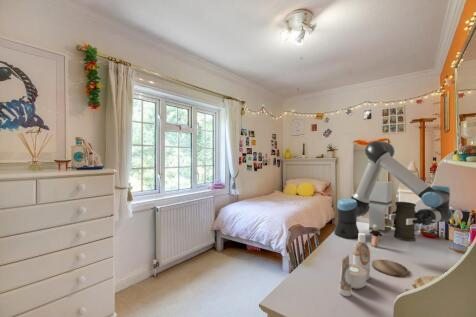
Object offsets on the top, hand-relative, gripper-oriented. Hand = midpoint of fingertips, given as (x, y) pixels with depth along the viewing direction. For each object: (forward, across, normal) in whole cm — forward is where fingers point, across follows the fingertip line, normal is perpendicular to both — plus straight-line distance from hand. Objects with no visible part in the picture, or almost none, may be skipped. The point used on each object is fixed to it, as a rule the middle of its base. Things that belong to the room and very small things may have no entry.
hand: (398, 219), depth 116 cm
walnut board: (+11, -4, -21) cm, 24 cm away
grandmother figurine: (-7, +18, -22) cm, 29 cm away
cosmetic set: (+38, -9, -22) cm, 44 cm away
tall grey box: (-38, +39, -22) cm, 58 cm away
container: (-5, 0, -10) cm, 11 cm away
